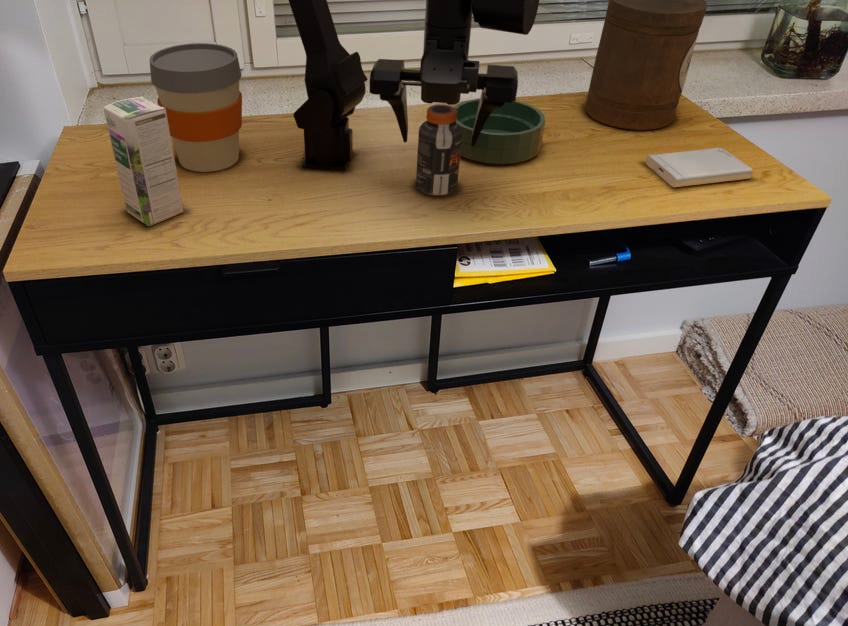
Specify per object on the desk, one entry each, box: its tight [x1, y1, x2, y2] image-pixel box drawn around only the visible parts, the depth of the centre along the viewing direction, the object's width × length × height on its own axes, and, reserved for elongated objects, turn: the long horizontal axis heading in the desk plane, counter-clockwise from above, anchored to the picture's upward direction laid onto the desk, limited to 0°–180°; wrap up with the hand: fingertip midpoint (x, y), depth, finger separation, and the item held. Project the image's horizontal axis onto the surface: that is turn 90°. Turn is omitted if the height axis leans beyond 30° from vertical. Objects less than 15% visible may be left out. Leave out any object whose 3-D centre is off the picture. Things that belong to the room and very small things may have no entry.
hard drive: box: [644, 147, 754, 188], centre depth 105 cm, size 2×8×12 cm
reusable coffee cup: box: [149, 42, 243, 173], centre depth 103 cm, size 13×13×15 cm
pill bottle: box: [415, 104, 462, 196], centre depth 97 cm, size 6×6×11 cm
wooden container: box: [584, 0, 708, 131], centre depth 115 cm, size 15×15×22 cm
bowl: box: [453, 97, 546, 165], centre depth 110 cm, size 14×14×5 cm
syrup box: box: [102, 96, 184, 227], centre depth 91 cm, size 6×6×14 cm
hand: (438, 143), depth 97 cm, fingers open, 9 cm apart
